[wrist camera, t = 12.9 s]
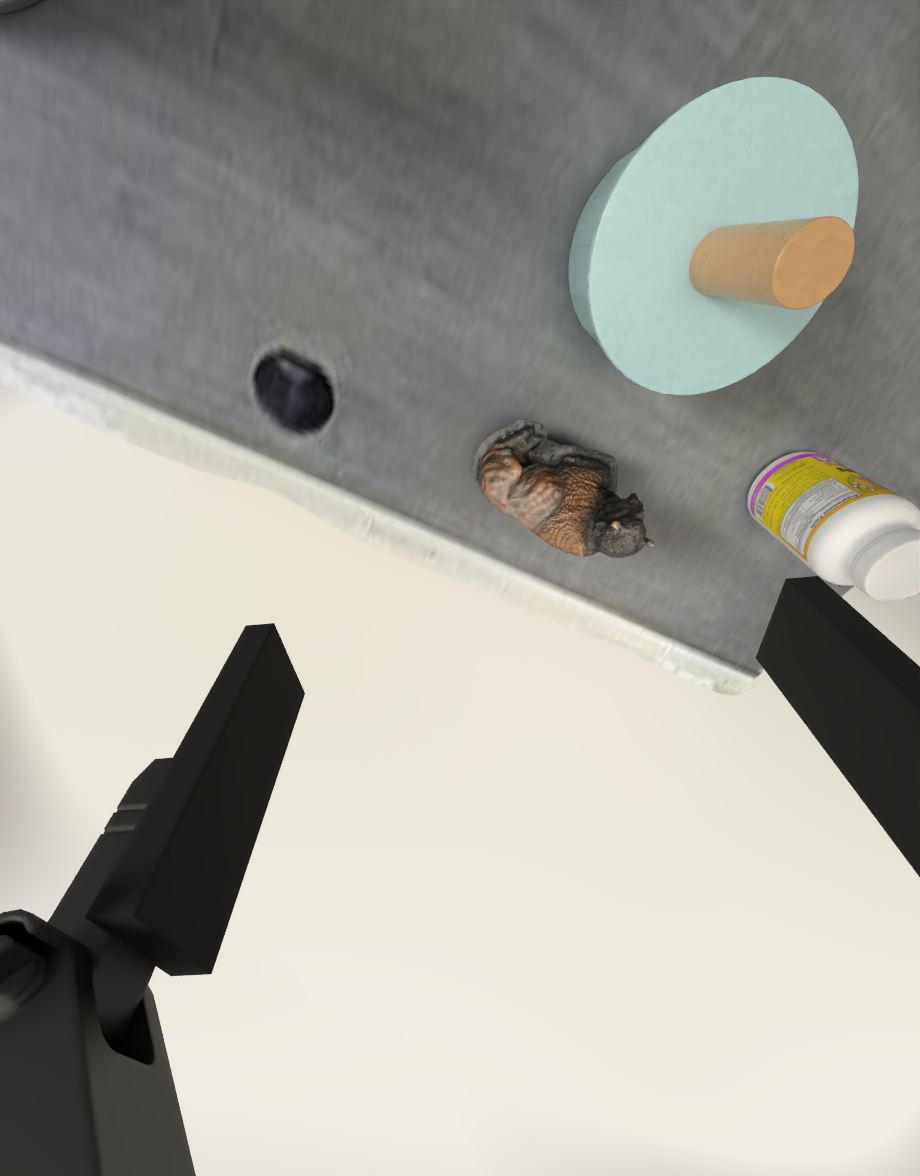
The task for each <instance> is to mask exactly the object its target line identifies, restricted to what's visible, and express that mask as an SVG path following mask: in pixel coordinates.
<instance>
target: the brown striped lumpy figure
mask: <svg viewBox="0 0 920 1176" xmlns="http://www.w3.org/2000/svg"><path fill="white" fill-rule="evenodd" d="M472 476H473V478H474V480H475V481H476V482H478V483H479V485H480V489H481V491H482V493H483V494H484V496H485V497H486V498H487V500H488V501H489V502H490V503H491V504H492V505H493V506H495V507H496V508H497V509H498V510H500V511H501V512H502V513H503V514H506V515H509V516H511V517H512V518H514V519H515V520H517V521H518V522H519V523H520V524H521V525H523V526H524V527H525V528H527V529H529V530H530V531H531V532H533V533H535V534H536V535H537V536H539V537H540V538H541V539H543V540H544V541H545V542H547V543H548V544H550V545H551V546H552V547H555V548H557V549H560V550H562V551H563V552H565V553H570V554H573V555H577V556H582V557H585V556H590V555H593V554H595V553H597V552H601V553H603V554H605V555H607V556H610V557H615V558H623V557H628V556H631V555H633V554H635V553H637V552H638V551H639V550H641V549H642V548H643V547H644V546H651V547H652V546H654V543H653V542H652V541H651V540H650V539H647V538H646V537H645V534H646V528H645V526H644V524H643V518H644V515H645V510H644V509H643V503H642V502H640V501H639V500H638V497H637V496H636V493H632V494H631V495H630V496H629V497H627V498H626V499H620V498H619V496H617V495H616V491H617V461H616V459H615V458H614V457H612V456H610V455H608V454H606V453H602V452H599V451H596V450H587V449H584V448H580V447H577V446H572V445H559V444H558V443H556V442H554V441H552V440H549V439H547V430H546V429H545V427H544V426H543V425H542V424H540V423H538V422H533V421H529V420H526V419H520V420H516V421H513V422H512V423H510V424H507V425H505V426H503V427H502V428H500V429H499V430H497V431H496V432H494V433H493V434H491V435H490V436H489V437H487V438H486V439H485V440H484V441H483V442H482V443H481V445H480V447H479V449H478V451H477V453H476V455H475V457H474V460H473V466H472Z"/></svg>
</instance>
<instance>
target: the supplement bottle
mask: <svg viewBox="0 0 920 1176" xmlns="http://www.w3.org/2000/svg"><path fill="white" fill-rule="evenodd" d="M747 503H748V509H749V512H750V514H751V516H752V517H753V518H754V519H755V520H756V521H757V522H758V523H759V524H760V525H761V526H762V527H763V528H765V529H766V530H767V531H768V532H769V533H770V534H772V535H773V536H774V537H775V538H776V539H777V540H778V541H780V542H781V543H782V544H783V545H784V546H785V547H787V548H788V549H789V550H790V551H791V552H792V553H793V554H795V555H796V556H797V557H798V558H799V559H800V560H801V561H803V562H804V563H805V564H806V565H807V566H808V567H809V568H810V569H812V570H813V571H814V572H815V573H816V574H817V575H818V576H820V577H821V578H823V579H824V580H826V581H828V582H831V583H834V584H838V585H855V586H856V587H857V588H858V589H860V590H861V591H862V592H864V593H865V594H866V595H868V596H869V597H870V598H873V599H874V600H877V601H882V602H891V601H898V600H902V599H905V598H909V597H911V596H913V595H915V594H917V593H919V592H920V510H919V509H918V508H917V507H916V506H915V505H914V504H913V503H911V502H910V501H908V500H906V499H905V498H903V497H901V496H899V495H897V494H895V493H893V492H891V491H889V490H888V489H886V488H884V487H882V486H880V485H878V484H876V483H875V482H873V481H871V480H869V479H867V478H865V477H864V476H861V475H860V474H858V473H856V472H854V471H852V470H851V469H849V468H847V467H845V466H843V465H841V464H839V463H837V462H836V461H834V460H832V459H830V458H828V457H826V456H824V455H821V454H819V453H815V452H807V451H805V452H796V453H792V454H789V455H786V456H783V457H781V458H779V459H777V460H776V461H774V462H773V463H771V464H770V465H769V466H768V467H766V468H765V469H764V470H763V471H762V472H761V473H760V474H759V475H758V477H757V478H756V479H755V481H754V482H753V484H752V486H751V488H750V491H749V494H748V502H747Z"/></svg>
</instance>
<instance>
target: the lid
mask: <svg viewBox="0 0 920 1176" xmlns="http://www.w3.org/2000/svg"><path fill="white" fill-rule="evenodd" d="M858 189H859V180H858V168H857V160H856V156H855V151H854V147H853V143H852V140H851V138H850V135H849V133H848V130H847V128H846V126H845V124H844V122H843V121H842V119H841V118H840V116H839V114H838V113H837V111H836V110H835V109H834V108H833V106H832V105H831V104H830V103H829V102H828V101H827V100H826V99H825V98H824V97H823V96H821V95H820V94H818V93H817V92H815V91H814V90H812V89H811V88H809V87H808V86H806V85H803V84H800V83H798V82H795V81H793V80H790V79H783V78H777V77H754V78H747V79H743V80H739V81H734V82H730V83H728V84H725V85H723V86H720V87H718V88H715V89H713V90H710V91H709V92H707V93H705V94H703V95H702V96H700V97H698V98H696V99H695V100H693V101H691V102H689V103H688V104H686V105H685V106H683V107H682V108H681V109H679V110H678V111H677V112H675V113H674V114H673V115H672V116H670V117H669V118H668V119H666V120H665V121H664V122H663V123H662V124H661V125H660V126H659V127H658V128H657V129H656V130H655V131H654V132H653V133H652V134H651V135H650V136H649V137H648V138H647V139H646V140H645V141H644V143H643V144H642V145H641V146H640V147H639V149H638V150H637V151H636V152H635V153H634V155H633V156H632V158H631V159H630V160H629V162H628V163H627V165H626V166H625V168H624V169H623V171H622V172H621V174H620V175H619V177H618V179H617V181H616V183H615V185H614V186H613V188H612V190H611V192H610V194H609V196H608V198H607V200H606V203H605V205H604V207H603V210H602V212H601V214H600V217H599V220H598V224H597V227H596V230H595V233H594V236H593V241H592V245H591V250H590V255H589V263H588V272H587V299H588V307H589V314H590V318H591V322H592V326H593V330H594V332H595V335H596V337H597V340H598V342H599V344H600V346H601V348H602V349H603V351H604V353H605V355H606V356H607V358H608V359H609V360H610V361H611V363H612V364H613V365H614V366H615V367H616V368H617V369H618V370H619V371H620V372H621V373H622V374H623V375H624V376H626V377H627V378H628V379H630V380H632V381H633V382H635V383H636V384H638V385H639V386H642V387H644V388H646V389H649V390H651V391H655V392H658V393H662V394H669V395H695V394H701V393H707V392H710V391H714V390H717V389H720V388H723V387H726V386H728V385H730V384H733V383H735V382H737V381H739V380H741V379H743V378H745V377H747V376H748V375H750V374H752V373H754V372H755V371H757V370H758V369H759V368H761V367H762V366H764V365H765V364H767V363H768V362H769V361H771V360H772V359H773V358H774V357H775V356H777V355H778V354H779V353H780V352H781V351H783V350H784V349H785V348H786V347H787V346H788V345H789V344H790V343H791V342H792V341H793V340H794V339H795V338H796V337H797V335H798V334H799V333H800V332H801V331H802V329H803V328H804V327H805V326H806V325H807V324H808V322H809V321H810V320H811V318H812V317H813V315H814V314H815V313H816V311H817V310H818V308H819V307H820V306H821V304H822V302H823V301H824V299H825V298H826V297H827V296H829V295H830V294H831V293H832V292H833V291H834V290H835V289H836V288H837V287H838V285H839V284H840V283H841V281H842V280H843V279H844V277H845V275H846V274H847V272H848V270H849V268H850V265H851V263H852V260H853V256H854V251H855V237H854V233H853V229H854V225H855V219H856V213H857V206H858Z"/></svg>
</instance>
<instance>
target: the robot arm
mask: <svg viewBox="0 0 920 1176" xmlns="http://www.w3.org/2000/svg"><path fill="white" fill-rule="evenodd" d="M36 1H38V0H0V13H7V12H11V11H16V10H20V9H22V8H24V7H27V6H29V5H31V4H33V3H35V2H36ZM756 659H757V660H758V661H759V663H760V664H761V665H762V667H763V668H764V669H765V671H766V672H767V673H768V675H769V676H770V677H771V679H772V680H773V681H774V683H775V684H776V685H777V687H778V688H779V689H780V691H781V692H782V693H783V695H784V696H785V698H786V699H787V700H788V702H789V703H790V704H791V706H792V707H793V708H794V710H795V711H796V712H797V714H798V715H799V716H800V717H801V719H802V720H803V722H804V723H805V724H806V726H807V727H808V728H809V729H810V731H811V732H812V734H813V735H814V736H815V738H816V739H817V740H818V742H819V743H820V744H821V746H822V747H823V748H824V750H825V751H826V752H827V754H828V755H829V756H830V758H831V759H832V760H833V762H834V763H835V764H836V766H837V767H838V768H839V770H840V771H841V772H842V774H843V775H844V776H845V778H846V779H847V780H848V782H849V783H850V784H851V786H852V787H853V788H854V790H855V791H856V792H857V794H858V795H859V796H860V798H861V799H862V800H863V802H864V803H865V804H866V806H867V807H868V809H869V810H870V811H871V813H872V814H873V815H874V817H875V818H876V819H877V820H878V822H879V823H880V825H881V826H882V827H883V828H884V830H885V831H886V833H887V834H888V835H889V837H890V838H891V839H892V841H893V842H894V843H895V845H896V846H897V847H898V849H899V850H900V851H901V853H902V854H903V855H904V857H905V858H906V859H907V861H908V862H909V863H910V865H911V866H912V867H913V869H914V870H915V871H916V873H917V874H918V875H919V877H920V667H919V666H918V665H917V664H916V663H915V662H914V661H913V660H912V659H910V658H909V657H908V656H907V655H906V654H905V653H904V652H902V651H901V650H900V649H899V648H898V647H897V646H896V645H895V644H894V643H892V642H891V641H890V640H889V639H888V638H887V637H886V636H885V635H883V634H882V633H881V632H880V631H879V630H878V629H877V628H875V627H874V626H873V625H872V624H871V623H870V622H869V621H868V620H866V619H865V618H864V617H863V616H862V615H861V614H860V613H859V612H857V611H856V610H855V609H854V608H853V607H852V606H851V605H850V604H848V603H847V602H846V601H845V600H844V599H843V598H842V597H841V596H839V595H838V594H837V593H836V592H835V591H834V590H833V589H832V588H830V587H829V586H828V585H827V584H826V583H825V582H824V581H823V580H821V579H820V578H819V577H818V576H813V577H802V578H790V579H786V580H785V583H784V585H783V588H782V591H781V593H780V596H779V598H778V601H777V604H776V606H775V609H774V612H773V614H772V617H771V619H770V622H769V625H768V627H767V630H766V632H765V635H764V638H763V640H762V643H761V646H760V648H759V651H758V653H757V656H756ZM304 694H305V693H304V690H303V688H302V686H301V683H300V681H299V679H298V677H297V674H296V672H295V670H294V668H293V665H292V663H291V661H290V659H289V656H288V654H287V652H286V649H285V647H284V645H283V643H282V640H281V638H280V636H279V633H278V631H277V629H276V627H275V624H274V623H272V624H261V625H249V626H245V628H244V630H243V632H242V634H241V635H240V637H239V639H238V641H237V643H236V644H235V646H234V648H233V650H232V652H231V654H230V655H229V657H228V659H227V661H226V663H225V664H224V666H223V668H222V670H221V672H220V673H219V676H218V677H217V679H216V681H215V683H214V684H213V686H212V688H211V690H210V692H209V694H208V695H207V697H206V699H205V701H204V703H203V704H202V706H201V708H200V710H199V711H198V713H197V715H196V717H195V719H194V721H193V722H192V724H191V726H190V728H189V730H188V731H187V733H186V735H185V737H184V739H183V740H182V742H181V744H180V746H179V748H178V750H177V751H176V753H175V755H174V757H173V758H163V759H155V760H154V761H153V762H152V763H151V764H150V765H149V766H148V767H147V768H146V769H145V770H144V771H143V772H142V773H141V774H140V775H139V776H138V777H137V778H136V779H135V780H134V781H133V782H132V784H131V785H130V787H129V789H128V790H127V792H126V794H125V795H124V797H123V799H122V800H121V802H120V804H119V805H118V807H117V808H118V810H117V812H116V813H113V815H112V817H111V818H110V820H109V822H108V824H107V825H106V827H105V828H104V829H105V832H104V834H101V835H100V837H99V838H98V840H97V842H96V843H95V845H94V847H93V848H92V850H91V852H90V853H89V855H88V857H87V858H86V860H85V862H84V863H83V865H82V867H81V868H80V870H79V872H78V873H77V875H76V876H75V878H74V880H73V881H72V883H71V885H70V886H69V888H68V890H67V892H66V893H65V895H64V897H63V898H62V900H61V901H60V903H59V905H58V906H57V908H56V910H55V911H54V913H53V915H52V916H51V918H50V919H49V921H48V922H45V921H44V920H42V919H41V918H39V917H37V916H36V915H34V914H32V913H30V912H27V911H24V910H21V909H19V910H14V911H8V912H3V913H1V914H0V1176H196V1175H195V1171H194V1167H193V1163H192V1158H191V1154H190V1150H189V1145H188V1141H187V1137H186V1132H185V1128H184V1124H183V1120H182V1115H181V1111H180V1107H179V1102H178V1098H177V1094H176V1090H175V1085H174V1081H173V1077H172V1073H171V1069H170V1064H169V1060H168V1056H167V1051H166V1047H165V1043H164V1039H163V1034H162V1030H161V1025H160V1021H159V1017H158V1013H157V1009H156V1004H155V1000H154V996H153V993H152V991H151V990H150V988H149V986H148V983H149V981H150V978H151V976H152V973H153V971H154V968H155V966H157V967H158V968H160V969H161V970H163V971H164V972H166V973H167V974H169V975H170V976H182V975H202V974H212V971H213V968H214V965H215V962H216V959H217V956H218V953H219V950H220V947H221V943H222V941H223V937H224V935H225V932H226V929H227V926H228V923H229V920H230V917H231V914H232V911H233V908H234V904H235V902H236V899H237V896H238V893H239V890H240V887H241V884H242V881H243V878H244V874H245V872H246V869H247V865H248V863H249V860H250V857H251V854H252V851H253V848H254V845H255V842H256V839H257V835H258V833H259V830H260V827H261V824H262V821H263V817H264V815H265V812H266V809H267V806H268V802H269V800H270V797H271V794H272V791H273V788H274V785H275V782H276V779H277V776H278V773H279V770H280V767H281V764H282V761H283V758H284V755H285V751H286V749H287V746H288V743H289V740H290V737H291V734H292V731H293V728H294V725H295V722H296V719H297V715H298V713H299V709H300V707H301V704H302V701H303V698H304Z"/></svg>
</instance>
